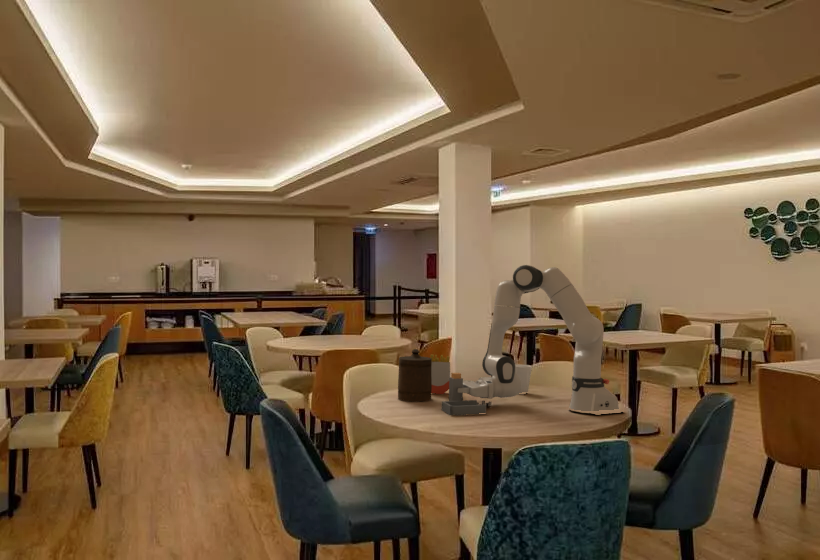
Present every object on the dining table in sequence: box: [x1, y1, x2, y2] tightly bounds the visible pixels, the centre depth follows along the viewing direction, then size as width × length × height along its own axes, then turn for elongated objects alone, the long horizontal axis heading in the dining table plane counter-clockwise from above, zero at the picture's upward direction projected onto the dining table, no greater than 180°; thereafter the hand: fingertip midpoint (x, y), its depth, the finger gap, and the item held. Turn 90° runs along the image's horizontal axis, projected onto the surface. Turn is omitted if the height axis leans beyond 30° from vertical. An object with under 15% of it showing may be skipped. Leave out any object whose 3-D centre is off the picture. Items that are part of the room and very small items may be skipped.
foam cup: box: [515, 363, 533, 393], centre depth 326 cm, size 10×9×13 cm
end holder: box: [441, 399, 487, 416], centre depth 278 cm, size 15×11×4 cm
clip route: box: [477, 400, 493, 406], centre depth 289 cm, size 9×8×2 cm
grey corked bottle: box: [448, 372, 464, 401], centre depth 290 cm, size 4×4×14 cm
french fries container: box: [429, 354, 451, 395], centre depth 321 cm, size 5×11×18 cm, turn 80°
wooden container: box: [397, 348, 432, 403], centre depth 306 cm, size 15×15×22 cm
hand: (453, 388), depth 290 cm, fingers open, 7 cm apart
